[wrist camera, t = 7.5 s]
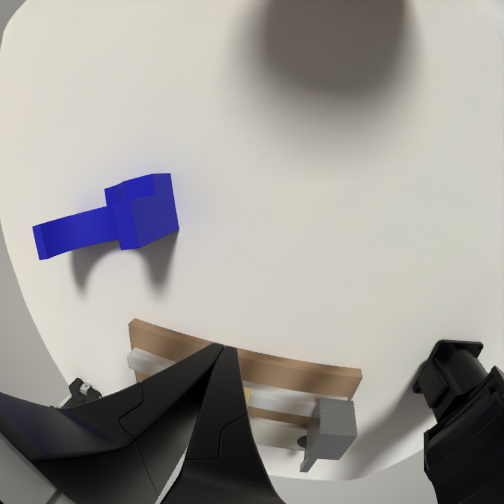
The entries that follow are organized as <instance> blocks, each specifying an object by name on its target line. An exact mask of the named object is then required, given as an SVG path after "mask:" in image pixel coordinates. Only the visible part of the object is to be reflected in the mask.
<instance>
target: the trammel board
mask: <svg viewBox="0 0 504 504" xmlns="http://www.w3.org/2000/svg"><path fill="white" fill-rule="evenodd" d="M128 325H129V334H130V342H131V349H132V351H131V352H130V353H129V354H128V355H127V360H128V365H129V368H131V369H133V370H135V375H136V381H137V383H138V382H141V381H142V380H144V379H146V378H148V377H150V376H152V375H154V374H156V373H158V372H160V371H162V370H164V369H165V368H167V367H169V366H171V365H173V364H175V363H177V362H179V361H180V360H182V359H184V358H186V357H188V356H190V355H191V354H193V353H195V352H197V351H199V350H201V349H202V348H204V347H206V346H208V345H209V344H211V343H214V342H211V341H207V340H203V339H200V338H196V337H192V336H189V335H185V334H182V333H179V332H175V331H172V330H169V329H166V328H162V327H159V326H156V325H153V324H150V323H147V322H144V321H141V320H138V319H133V320H132V321H131V322H130V323H129V324H128ZM224 346H227V345H224ZM237 350H238V356H239V362H240V369H241V375H242V381H243V387H247V388H251V389H252V391H251V396H250V400H249V405H248V409H247V410H248V416H249V420H250V425H251V429H252V434H253V438H254V441H255V443H257V444H262V445H267V446H273V447H279V448H286V449H293V450H301V451H305V442H306V441H307V429H308V423H309V421H310V419H311V417H312V414H313V412H314V410H315V408H316V406H317V404H318V402H319V400H320V398H328V399H337V400H348V401H351V399H352V397H353V395H354V393H355V391H356V389H357V387H358V386H359V384H360V382H361V380H362V373H361V369H354V368H346V367H338V366H330V365H323V364H317V363H310V362H304V361H298V360H292V359H287V358H282V357H276V356H271V355H266V354H262V353H257V352H252V351H248V350H243V349H239V348H237Z"/></svg>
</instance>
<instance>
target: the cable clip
mask: <svg viewBox="0 0 504 504" xmlns="http://www.w3.org/2000/svg"><path fill="white" fill-rule="evenodd" d="M104 190H105V197H106V204H107V206H106V207H102V208H98V209H94V210H90V211H86V212H82V213H78V214H75V215H71V216H67V217H64V218H60V219H56V220H53V221H49V222H46V223H42V224H39V225H36V226H33V227H32V228H33V233H34V238H35V242H36V247H37V251H38V255H39V259H40V260H44V259H49V258H51V257H54V256H56V255H59V254H62V253H65V252H68V251H71V250H74V249H78V248H81V247H85V246H89V245H93V244H97V243H102V242H107V241H114V240H119V242H120V247H121V250H126V249H135V248H140V247H143V246H145V245H147V244H149V243H151V242H153V241H155V240H157V239H159V238H161V237H164V236H166V235H168V234H170V233H172V232H174V231H176V230H179V225H178V219H177V213H176V207H175V201H174V195H173V188H172V181H171V174H170V173H163V174H149V175H145V176H142V177H138V178H134V179H130V180H127V181H123V182H122V183H120V184H118V185H115V186H112V187H109V188H106V189H104Z"/></svg>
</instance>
